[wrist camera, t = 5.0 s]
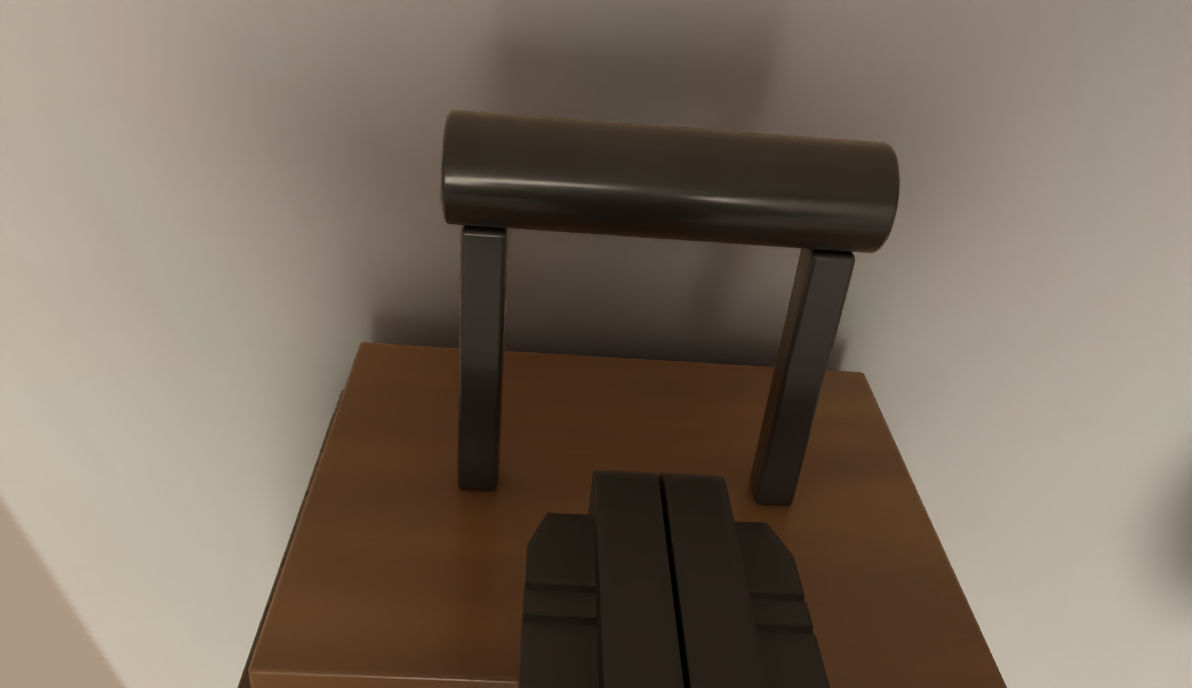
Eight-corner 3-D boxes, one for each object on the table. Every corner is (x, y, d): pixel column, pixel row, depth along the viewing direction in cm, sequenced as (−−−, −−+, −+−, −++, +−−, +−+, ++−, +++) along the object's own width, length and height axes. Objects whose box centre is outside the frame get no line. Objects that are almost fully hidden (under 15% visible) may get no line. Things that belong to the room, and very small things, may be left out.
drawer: (343, 21, 15) (175, 235, 8) (949, 70, 15) (1209, 305, 9) (377, 681, 23) (305, 1036, 16) (771, 696, 23) (844, 1044, 17)
